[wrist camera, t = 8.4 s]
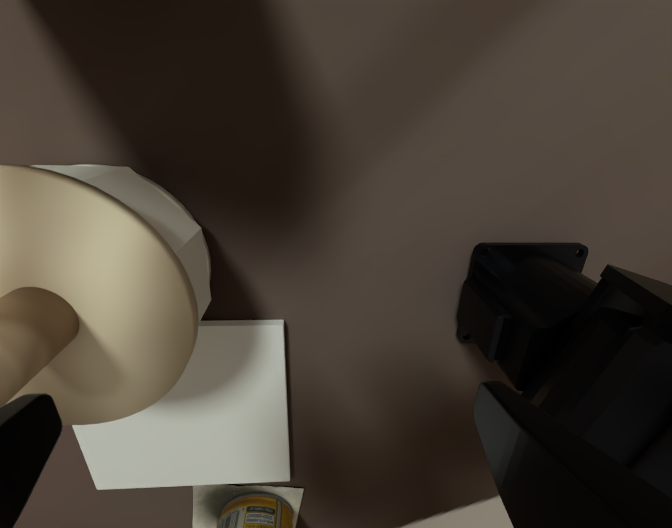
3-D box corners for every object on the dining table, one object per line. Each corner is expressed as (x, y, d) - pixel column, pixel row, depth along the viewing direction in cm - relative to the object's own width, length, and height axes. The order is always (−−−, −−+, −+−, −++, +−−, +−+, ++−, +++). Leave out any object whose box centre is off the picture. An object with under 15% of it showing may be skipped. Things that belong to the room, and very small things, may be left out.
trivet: (283, 319, 21) (282, 325, 21) (290, 473, 27) (289, 481, 26) (42, 322, 20) (34, 328, 20) (101, 481, 26) (96, 489, 25)
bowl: (198, 165, 17) (157, 184, 13) (220, 335, 21) (195, 396, 17) (-21, 161, 17) (-147, 181, 12) (46, 338, 21) (-30, 403, 16)
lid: (174, 166, 12) (109, 192, 8) (213, 407, 17) (183, 498, 13) (-179, 161, 12) (-436, 187, 8) (-38, 415, 16) (-151, 514, 12)
